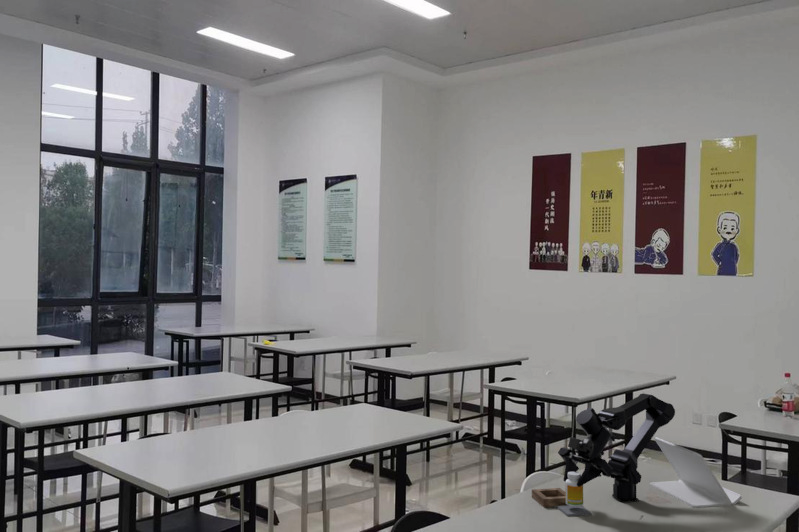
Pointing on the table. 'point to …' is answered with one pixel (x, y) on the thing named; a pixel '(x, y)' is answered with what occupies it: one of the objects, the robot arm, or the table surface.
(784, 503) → the table surface
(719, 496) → the tablet stand
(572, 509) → the rubber mat
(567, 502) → the supplement bottle
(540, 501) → the walnut collar
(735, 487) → the table surface
